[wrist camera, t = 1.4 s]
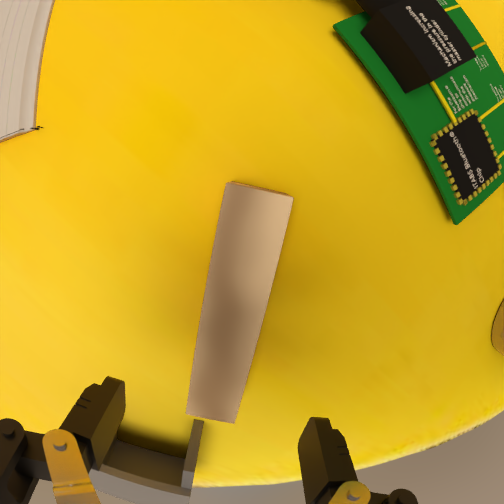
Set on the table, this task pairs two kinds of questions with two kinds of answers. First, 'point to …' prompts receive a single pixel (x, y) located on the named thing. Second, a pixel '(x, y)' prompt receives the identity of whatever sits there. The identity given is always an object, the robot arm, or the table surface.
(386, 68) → the electronic board model
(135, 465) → the end cap
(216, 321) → the slat
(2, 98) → the baseboard molding
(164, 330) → the table surface
